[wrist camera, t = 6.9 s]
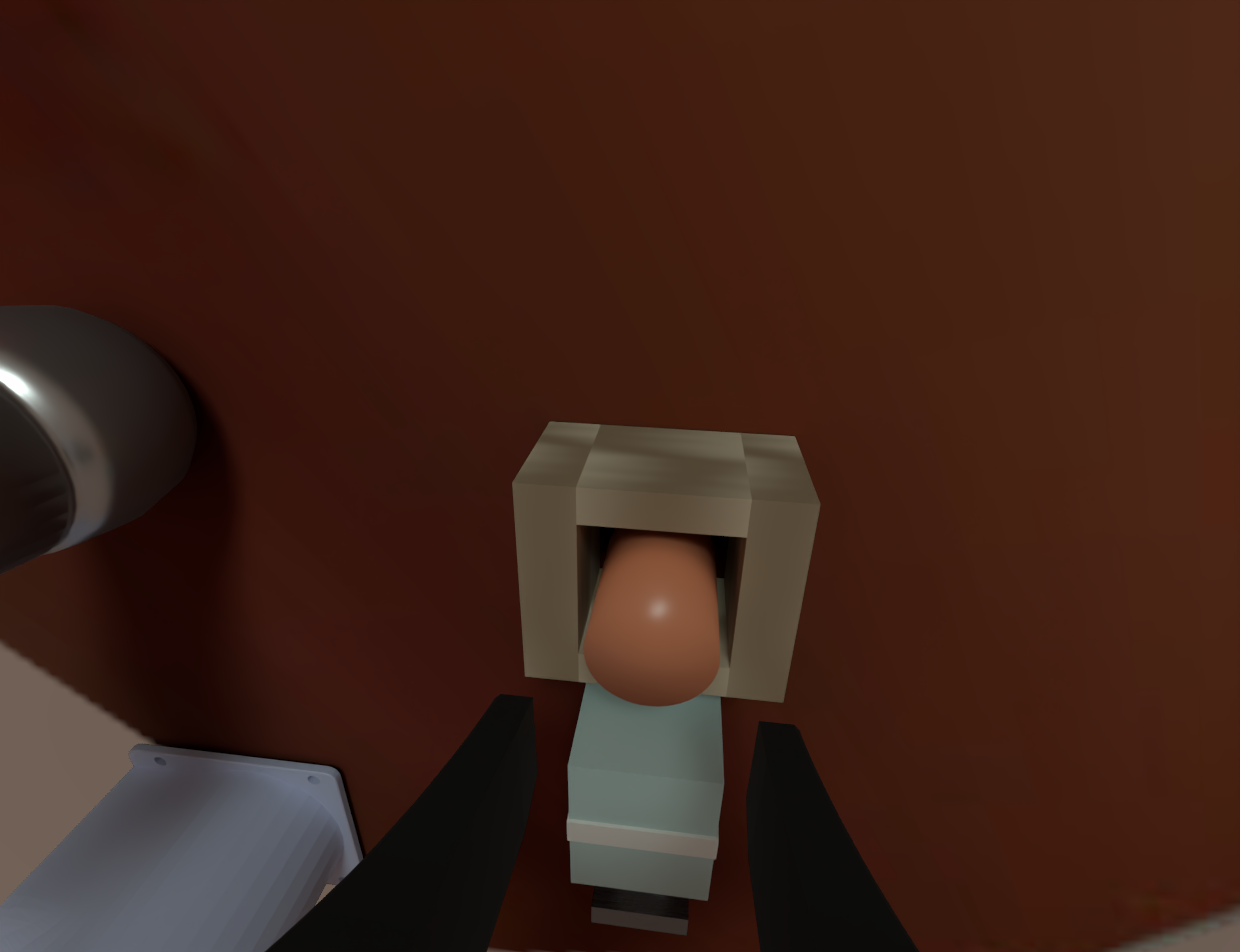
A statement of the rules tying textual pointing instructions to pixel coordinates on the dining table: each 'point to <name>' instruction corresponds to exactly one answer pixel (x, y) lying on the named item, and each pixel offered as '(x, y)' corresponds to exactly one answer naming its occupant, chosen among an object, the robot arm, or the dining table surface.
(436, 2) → the dining table surface
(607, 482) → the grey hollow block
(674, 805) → the block
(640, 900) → the rail
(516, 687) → the dining table surface
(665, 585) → the button
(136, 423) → the plastic bottle
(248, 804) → the robot arm
